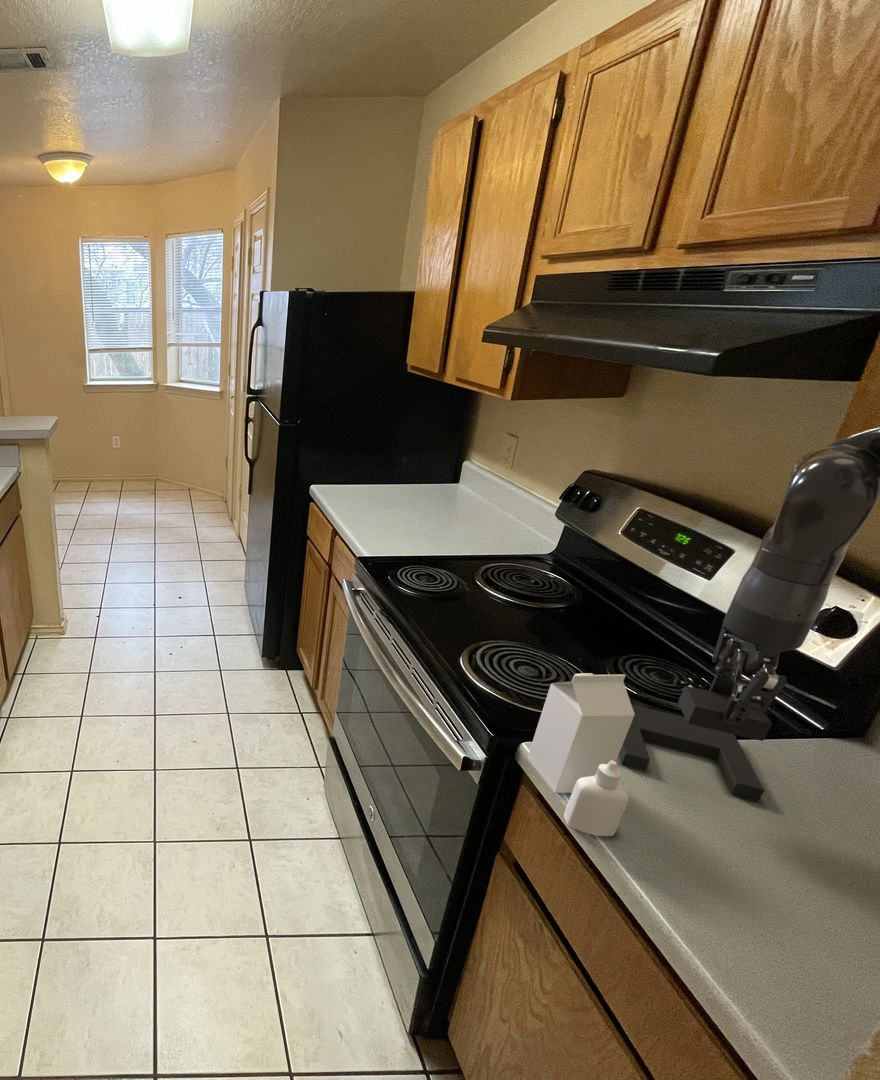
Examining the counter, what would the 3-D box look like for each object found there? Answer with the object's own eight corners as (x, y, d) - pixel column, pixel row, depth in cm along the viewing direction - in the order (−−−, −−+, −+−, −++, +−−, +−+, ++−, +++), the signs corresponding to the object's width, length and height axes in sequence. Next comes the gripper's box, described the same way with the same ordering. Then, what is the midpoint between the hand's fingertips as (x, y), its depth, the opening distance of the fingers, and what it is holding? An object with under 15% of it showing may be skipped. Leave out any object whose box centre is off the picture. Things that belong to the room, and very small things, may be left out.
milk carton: (602, 796, 86) (644, 691, 78) (553, 797, 86) (591, 692, 78) (571, 759, 92) (607, 659, 85) (525, 760, 92) (557, 660, 85)
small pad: (749, 718, 82) (757, 701, 81) (763, 741, 78) (772, 723, 77) (677, 702, 86) (684, 685, 84) (687, 723, 82) (695, 706, 80)
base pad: (723, 742, 95) (731, 727, 94) (756, 805, 84) (764, 790, 83) (604, 712, 102) (610, 699, 101) (619, 768, 91) (625, 753, 89)
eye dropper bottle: (568, 807, 84) (592, 742, 79) (615, 831, 80) (643, 765, 76) (558, 825, 81) (583, 759, 77) (607, 851, 78) (636, 783, 73)
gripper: (844, 640, 67) (781, 753, 74) (790, 585, 79) (740, 687, 86) (758, 624, 70) (705, 735, 77) (718, 574, 82) (675, 674, 89)
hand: (724, 709), depth 81 cm, fingers closed on small pad, 5 cm apart
